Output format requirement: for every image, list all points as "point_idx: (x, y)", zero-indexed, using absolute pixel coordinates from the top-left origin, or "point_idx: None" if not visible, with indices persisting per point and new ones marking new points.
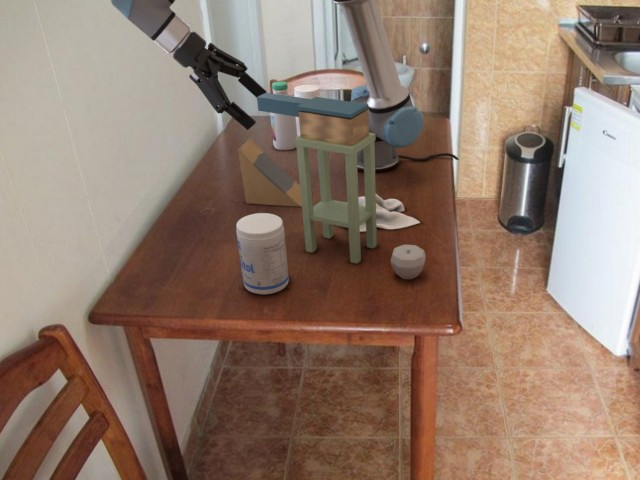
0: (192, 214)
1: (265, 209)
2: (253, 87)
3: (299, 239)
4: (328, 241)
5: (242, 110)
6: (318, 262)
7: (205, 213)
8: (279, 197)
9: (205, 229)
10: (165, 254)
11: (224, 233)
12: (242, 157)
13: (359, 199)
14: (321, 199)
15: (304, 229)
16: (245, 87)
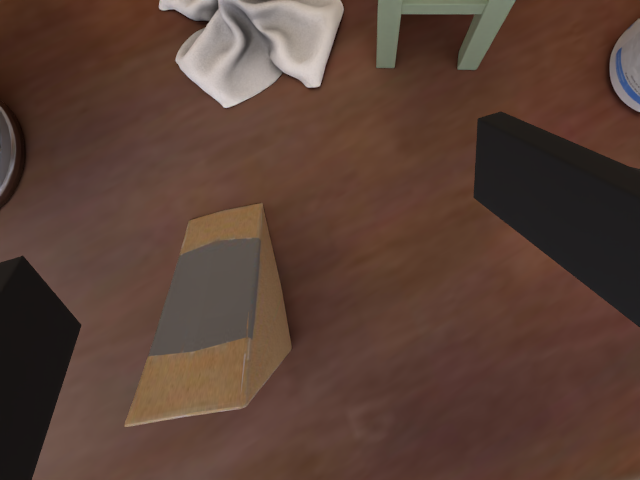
0: (402, 451)
1: (307, 281)
2: (9, 379)
3: (426, 115)
4: (409, 47)
5: (592, 167)
6: (514, 16)
7: (384, 420)
8: (268, 256)
9: (466, 367)
10: (628, 387)
11: (467, 308)
12: (253, 383)
13: (200, 62)
14: (402, 2)
15: (495, 35)
16: (32, 468)
